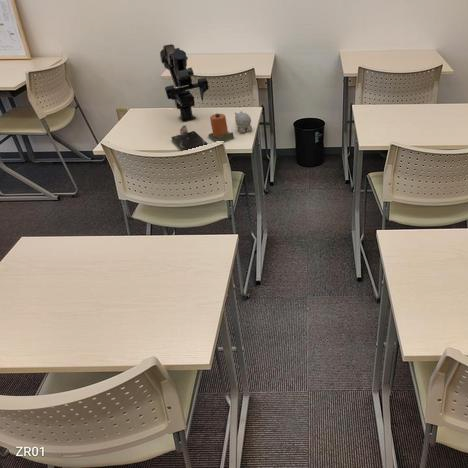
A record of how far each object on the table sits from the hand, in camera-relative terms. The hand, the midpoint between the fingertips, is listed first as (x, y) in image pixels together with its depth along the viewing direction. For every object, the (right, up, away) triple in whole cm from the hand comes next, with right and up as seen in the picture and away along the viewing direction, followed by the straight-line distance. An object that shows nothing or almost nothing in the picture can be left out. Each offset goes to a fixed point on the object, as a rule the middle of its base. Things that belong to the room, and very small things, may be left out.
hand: (192, 102), depth 212 cm
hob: (-2, -17, +4) cm, 18 cm away
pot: (+11, -12, +7) cm, 18 cm away
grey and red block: (-5, -13, +7) cm, 16 cm away
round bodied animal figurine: (+20, -8, +15) cm, 27 cm away
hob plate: (0, -18, 0) cm, 18 cm away
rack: (+11, -14, +8) cm, 20 cm away
